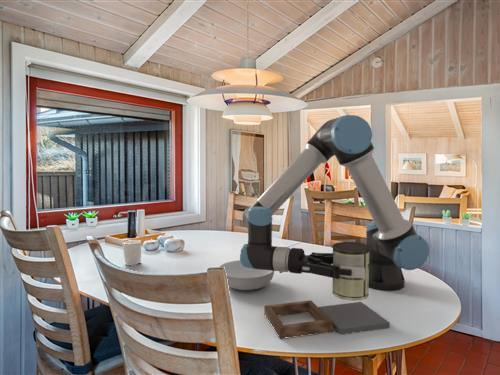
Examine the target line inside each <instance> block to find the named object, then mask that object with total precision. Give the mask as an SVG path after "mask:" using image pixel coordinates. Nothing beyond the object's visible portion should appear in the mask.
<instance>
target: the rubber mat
mask: <svg viewBox="0 0 500 375" xmlns="http://www.w3.org/2000/svg"><path fill="white" fill-rule="evenodd" d="M318 307H319V308H320V309H321V310H322V311H323V312H324V313H325V314H326V315H327V316H328V317H329V318H330V319H331V320H332V321H333V328H334V329H335V330H336V331H337V332H338V333H339V334H342V335H346V334H345V333H349V334H353V333H352V332H356V333H361V332H360V331H363V332H369V331H368V330H370V331H376V330H375V329H377V330H383V329H390V322H389V321H388V320H387V319H385V318H384V317H382V316H381V315H380V314H378V313H377V312H376V311H374V310H373V309H372V308H370V307H369V306H368V305H367V304H365V303H363V302H362V301H357V302H348V303H340V304H333V305H332V304H331V305H324V306H318ZM334 329H333V330H334ZM335 330H334V331H335ZM336 331H335V332H336ZM337 332H336V333H337ZM338 333H337V334H338ZM339 334H338V335H339Z"/></svg>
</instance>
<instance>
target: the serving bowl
mask: <svg viewBox="0 0 500 375" xmlns="http://www.w3.org/2000/svg"><path fill="white" fill-rule="evenodd" d="M219 267H225V270H226V273H227V279H228V285H229V288H231V289H233V290H239V291H252V290H253V291H254V290H257V289H261V288H264V287H265V286H267V285H269V284H270V282H272V280H273V277H274V276H275V275H274V274H275V271H272V270H261V269H253V268H247V267H244V266H243V265H242V264H241V261H240V259H239V260H232V261H228V262H225V263H221V264H220V265H219ZM219 267H218V268H219Z"/></svg>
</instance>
